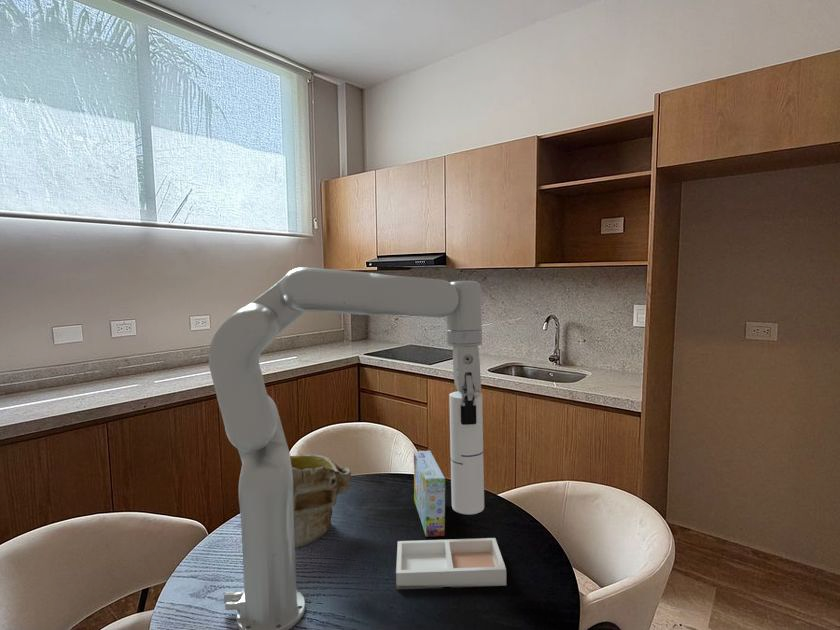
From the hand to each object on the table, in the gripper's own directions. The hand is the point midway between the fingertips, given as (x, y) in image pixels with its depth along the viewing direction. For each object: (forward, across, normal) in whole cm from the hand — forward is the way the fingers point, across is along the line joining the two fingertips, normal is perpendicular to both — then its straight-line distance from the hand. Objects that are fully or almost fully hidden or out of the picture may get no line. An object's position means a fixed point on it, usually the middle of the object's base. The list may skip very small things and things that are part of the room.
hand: (466, 418), depth 98 cm
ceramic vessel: (+34, +18, +40) cm, 56 cm away
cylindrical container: (+20, 0, 0) cm, 20 cm away
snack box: (+34, +24, +8) cm, 43 cm away
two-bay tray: (+34, 0, +4) cm, 34 cm away
